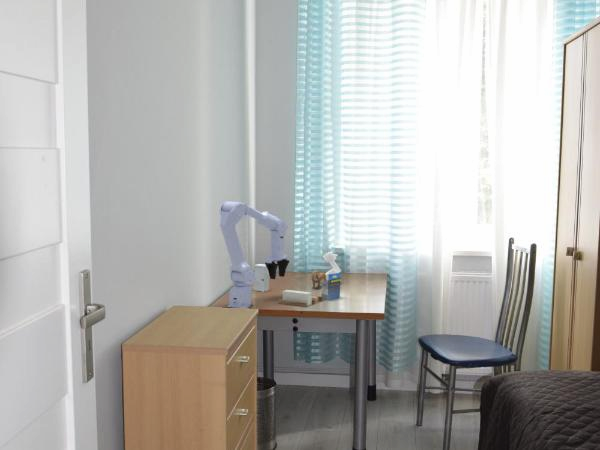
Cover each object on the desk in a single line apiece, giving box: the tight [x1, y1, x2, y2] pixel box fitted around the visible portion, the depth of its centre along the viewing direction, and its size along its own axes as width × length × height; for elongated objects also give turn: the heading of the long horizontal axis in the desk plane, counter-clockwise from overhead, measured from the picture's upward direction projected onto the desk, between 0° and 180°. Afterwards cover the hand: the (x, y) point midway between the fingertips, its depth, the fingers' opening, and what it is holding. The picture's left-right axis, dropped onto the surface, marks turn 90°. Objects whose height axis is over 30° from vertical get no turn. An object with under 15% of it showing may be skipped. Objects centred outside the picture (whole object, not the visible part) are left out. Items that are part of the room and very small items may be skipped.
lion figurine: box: [311, 270, 327, 290], centre depth 346 cm, size 15×5×9 cm, turn 161°
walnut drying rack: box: [276, 295, 326, 308], centre depth 305 cm, size 17×14×3 cm
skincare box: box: [253, 263, 270, 293], centre depth 335 cm, size 6×4×12 cm
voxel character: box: [322, 251, 342, 283], centre depth 356 cm, size 7×12×15 cm
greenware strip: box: [282, 289, 313, 307], centre depth 301 cm, size 4×12×5 cm, turn 61°
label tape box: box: [320, 272, 342, 301], centre depth 313 cm, size 9×4×12 cm, turn 141°
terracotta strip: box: [312, 295, 318, 302], centre depth 308 cm, size 3×11×2 cm, turn 61°
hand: (277, 277), depth 312 cm, fingers open, 7 cm apart
